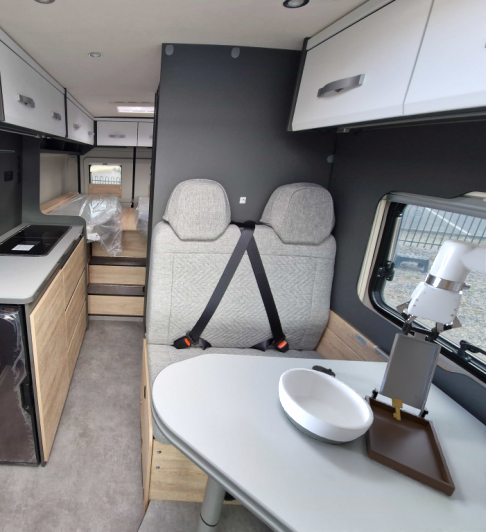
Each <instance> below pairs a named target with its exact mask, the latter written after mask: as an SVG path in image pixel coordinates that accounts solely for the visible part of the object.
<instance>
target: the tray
mask: <svg viewBox="0 0 486 532" xmlns="http://www.w3.org/2000/svg"><path fill="white" fill-rule="evenodd" d="M364 399H365V400H366V401H367V403H368V404H369V406H370V407H371V410H372V412H373V418H374V419H373V422H372V424H371V426H370V427H369V429H368V430H367V431H366V432H365V433H364V434H365V446H366V457H367V458H369V459H370V460H373V461H375V462H377V463H379V464H381V465H383V466H385V467H387V468H389V469H391V470H394V471H396V472H398V473H399V474H402V475H404V476H406V477H408V478H410V479H412V480H415V481H417V482H419V483H421V484H423V485H425V486H427V487H429V488H431V489H433V490H435V491H438V492H440V493H442V494H444V495H446V496H448V497H452V495H453V494H454V492H455V491H456V486H455V483H454V480H453V478H452V474H451V471H450V468H449V466H448V463H447V460H446V457H445V455H444V451H443V448H442V446H441V443H440V439H439V437H438V434H437V431H436V428H435V425H434V422H433V420H431V419H428V418H425V417H424V418H423V417H421V416H418V415H419V414H416V413H413V412H410V411H408V410H406V409H402V408H400V418H401V421H399V420H396V418H394V414H393V413H396V410H395V407H394V406H392V404H391V403H388V402H385V401H382V400H380V399H377V398H376V399H375V398H372V397H371V396H369V395H367V394H366V395H365V396H364Z"/></svg>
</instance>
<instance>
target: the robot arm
mask: <svg viewBox="0 0 486 532" xmlns="http://www.w3.org/2000/svg"><path fill="white" fill-rule="evenodd" d="M471 272H476V273H480V274H482V275H485V276H486V241H484V242H481V243H474V242H471V241H467V240H461V239H454V238H453V239H446V240H445V241H443V243H442V244H441V247H440V248H439V250H438V252H437V255H436V257H435V259H434V261H433V263H432V266H431V267H430V270H429V272H428V274H427V276H426V278H425V281H420V282H419V283H418V285H417V286H416V287H415V289H414V290H413V291H412V294H411V295H410V297H409V298H408V301H406V302H404V303H402V304H399V305H396V306H395V309H396V311H397V312H398V313H399V315H400V316H401V317H402V318H403V320H404V322H403V325H402V327H401V331H402V334H404V335H408V336H409V333H410V332H411V331H410V329H411V327H412V326H413V322H414V321H415V320H416V319H417V318H420V319H424V320H427V321H432V322H434V324H435V325H434V327H432V328H431V329H430V331H432V332H433V336H432V337H430V336H426V341H428V342H431V343H434V341H435V342H436V341H437V340H438V338H439V336H440V334H442V333H443V332H446V331H450V330H452V329H459V328H462V326H463V325H462V323H461V322H460V319H459V318H458V316H457V314H458V311H459V309H460V305H461V303H462V298H463V290H470V289H471V287H472V285H471V284H468V283H467V282H466V281H467V279H468V277H469V276H470V273H471ZM405 310H407V312H406V311H405ZM407 313H408V314H407Z"/></svg>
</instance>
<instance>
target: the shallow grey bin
mask: <svg viewBox="0 0 486 532" xmlns="http://www.w3.org/2000/svg"><path fill="white" fill-rule="evenodd" d="M409 332H413V333H414V336H411V335H409V334H408V335H404V333H401V332H398V333H397V332H396V333H395V336H394V340H393V342H392V347H391V350H390V353H389V356H388V359H387V364H386V367H385V371H384V374H383V377H382V381H381V384H380V388H379V390H378V391H379V393H378V395H381V396H383V397H386V398H389V399H391V400H392V398H396V399H400V400H402V404H404V405H406V406H409V407H412V408H414V409H417V410H419V411H421V410H422V411H424V408H425V407H426V404H427V402H428V401H427V400H428V397H429V393H430V389H431V386H432V384H433V383H432V382H433V378H434V375H435V372H436V368H437V364H438V360H439V356H440V352H441V349H442V345H441V344H437V343H435V342H433V343H431V342H428V340H426V338H427V337H428V336H430V337H432V336H433V332H432V331H431V330H428V329H424V328H421V327H417V326H414V325H412V327H411V329H410V331H409Z"/></svg>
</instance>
